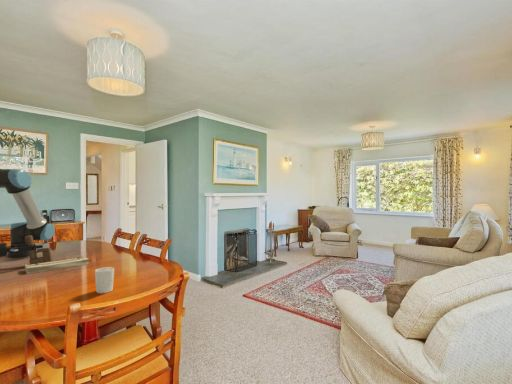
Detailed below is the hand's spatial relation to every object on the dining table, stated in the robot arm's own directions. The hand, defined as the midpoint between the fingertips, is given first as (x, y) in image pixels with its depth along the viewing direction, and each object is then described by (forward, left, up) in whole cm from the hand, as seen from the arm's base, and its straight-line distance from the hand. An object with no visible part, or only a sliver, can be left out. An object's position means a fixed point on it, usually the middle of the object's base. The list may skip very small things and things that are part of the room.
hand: (48, 245), depth 173 cm
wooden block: (-2, -3, -11) cm, 12 cm away
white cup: (+72, +10, -12) cm, 74 cm away
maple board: (+11, +3, -12) cm, 17 cm away
